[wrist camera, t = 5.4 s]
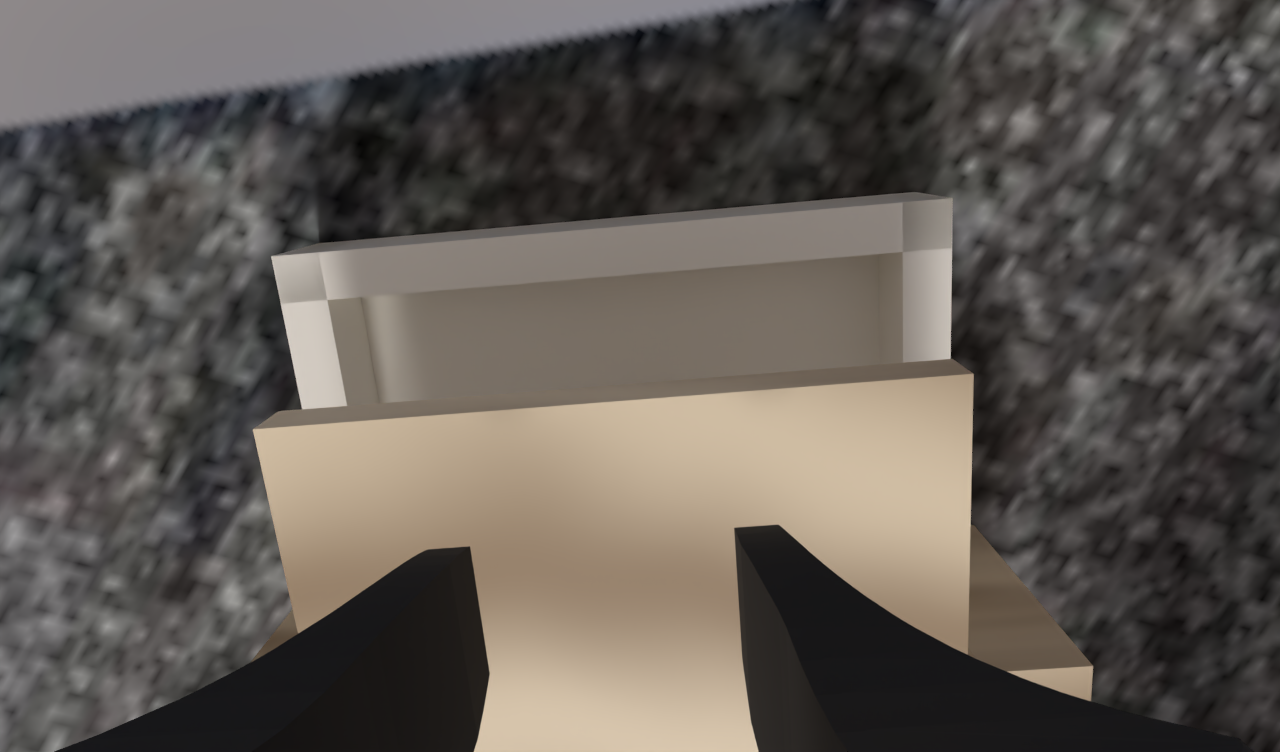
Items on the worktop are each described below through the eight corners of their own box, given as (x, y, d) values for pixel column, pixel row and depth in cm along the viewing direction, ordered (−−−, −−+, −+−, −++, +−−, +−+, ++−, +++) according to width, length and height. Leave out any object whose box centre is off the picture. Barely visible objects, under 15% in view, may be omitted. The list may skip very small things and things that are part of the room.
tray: (914, 192, 19) (952, 197, 17) (914, 511, 21) (948, 558, 19) (318, 243, 20) (270, 256, 17) (375, 549, 22) (340, 599, 19)
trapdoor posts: (970, 660, 22) (1081, 840, 16) (350, 700, 23) (246, 886, 17) (973, 524, 21) (1093, 665, 15) (323, 570, 22) (203, 721, 16)
